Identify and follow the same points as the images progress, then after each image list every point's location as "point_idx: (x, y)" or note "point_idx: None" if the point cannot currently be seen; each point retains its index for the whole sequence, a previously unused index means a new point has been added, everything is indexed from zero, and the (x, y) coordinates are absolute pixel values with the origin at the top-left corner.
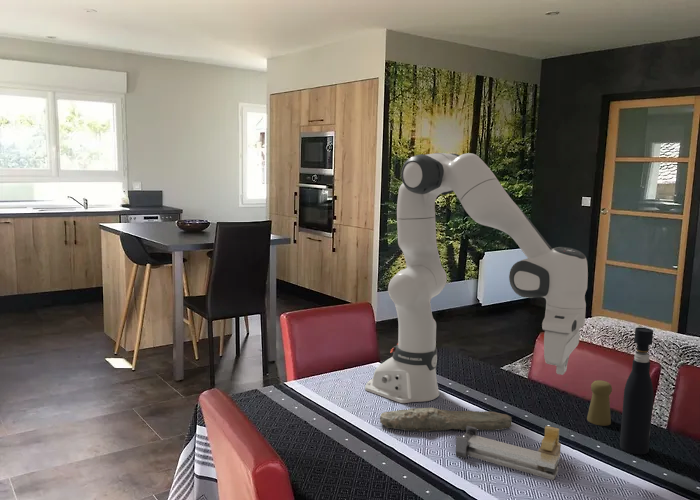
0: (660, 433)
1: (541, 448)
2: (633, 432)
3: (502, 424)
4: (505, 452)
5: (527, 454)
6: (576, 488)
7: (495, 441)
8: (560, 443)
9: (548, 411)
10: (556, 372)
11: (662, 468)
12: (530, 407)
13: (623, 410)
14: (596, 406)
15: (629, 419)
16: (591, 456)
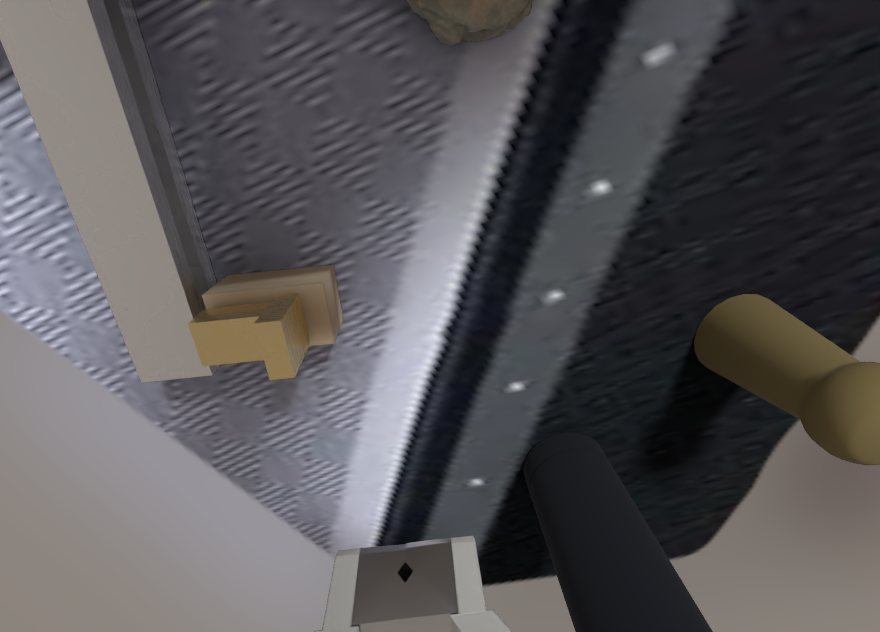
0: (711, 492)
1: (204, 310)
2: (542, 525)
3: (414, 8)
4: (64, 184)
5: (123, 275)
6: (188, 415)
7: (106, 95)
8: (330, 343)
9: (755, 135)
10: (336, 556)
11: (479, 536)
12: (774, 34)
13: (596, 549)
14: (756, 364)
15: (561, 551)
16: (426, 391)
